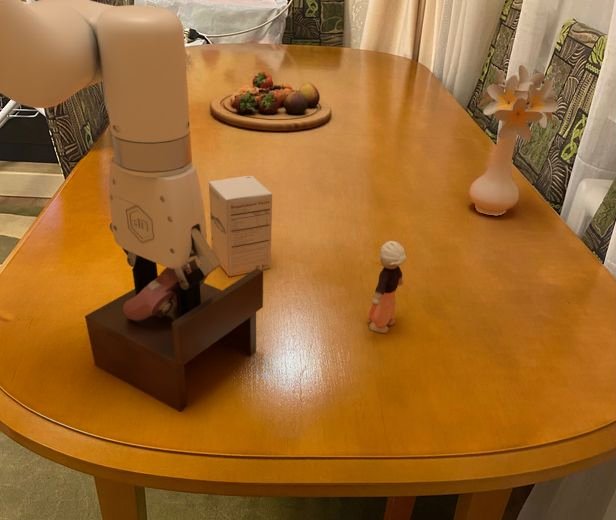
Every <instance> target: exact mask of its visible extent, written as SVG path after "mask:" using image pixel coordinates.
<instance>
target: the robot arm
mask: <svg viewBox="0 0 616 520" xmlns="http://www.w3.org/2000/svg"><path fill="white" fill-rule="evenodd" d="M185 42H186V41H185V32H184V26H183V23H182V21H181V19H180V17H179V16H178V14H177V13H175V12H174V11H172V10H170V9H168V8H164V7H159V6H155V5H154V6H153V5H144V4H143V5H141V4H128V5H112V4H107V3H103V2H99V1H98V2H97V1H93V0H35V1H33V2H29V3H25V2H24V1H23V0H0V94H1V95H2V96H4V97H6V98H7V99H9V100H11V101H13V102H15V103H16V104H19V105H22V106H23V107H28V108H34V109H47V108H48V109H49V108H53V107H55V106H59V105H60V104H62V103H64V102H66V101H67V100H68V99H70V98H72V97H73V96H74V95H76V94H77V93H78V92H80V91H81V90H83V89H86V88H88V87H91V86H93V85H96V84H98V83H103V87H104V92H105V100H106V105H107V106H106V108H107V113H108V121H109V128H110V137H111V143H112V148H113V157H112V158H111V159H110V163H109V164H110V165H109V176H108V177H109V179H108V182H109V183H108V184H109V185H108V186H109V187H108V189H109V191H108V192H109V210H110V218H111V219H110V220H111V223H110V224H109V229H110V231H111V232H112V233H113V238H114V241H115V244H116V245H118V246H119V247H120V248H121V249H122V250H123V252H124V253H125V254H126V256H127V257H126V262H127V264H128V266H129V267H131V270H132V278H133V286H134V289H135V293H136V295H138V294H139V293H140V292H141V291H142V290H143V289H144V288H145V287H146V286H147V285H148V284H149V283H151V282H152V281H153V280H155V279H156V278H157V277H158V276H159V274H158V265H161V266H163V267H165V268H170V269H174V271H175V273H176V276H177V279H178V281H179V284H180V286H178V287H177V288H176V296H177V307H178V315H179V317H181V316H183V315H185V314H186V313H188V312H189V311H191V310H192V309H194V308H196V307H197V306H199V305H200V304H201V295H200V281H202V280H203V279H204V278H205V277H207V278H208V276H209V275H211V274H212V273H214V271H216V270H218V269H219V268H220V267H221V265H220V262H219V260H218V258H217V257H216V255H215V254H214V252H213V251H212V247H211V246H210V245H209V244H208V234H207V222H206V221H207V220H206V215H205V214H206V213H205V206H204V198H203V194H202V193H203V192H202V189H201V184H200V179H199V176H198V172H197V168H196V166H194V165H193V153H192V151H193V150H192V136H191V123H190V107H189V92H188V91H189V90H188V89H189V88H188V77H187V74H188V73H187V59H186V45H185V44H186V43H185ZM188 263H189V266H190V268H191V271H192V272H191V273H190V274H189V275H187V272H186V269H185V267H184V265H186V264H188ZM157 264H158V265H157Z"/></svg>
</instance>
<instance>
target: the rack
mask: <svg viewBox="0 0 616 520" xmlns="http://www.w3.org/2000/svg"><path fill="white" fill-rule="evenodd" d="M200 295H201V304H200V305H199V306H197V307H196V308H194V309H192V310H191V311H189V312H188V313H186V314H185V315H183V316H181V317H179V315H178V307H177V304H176V303H175V302H174V301H173V300H172V302H173V307H172V309H171V310H170V311H169V312H168V313H167V314H166V315H165V316H164V317H161V318H160V317H159V316H157V315H152V316H150V317H148V318H146V319H144V320H140V321H134V320H130V319H129V318H127V317H126V316H125V314H124V311H123V306H124V304H125V302H127V301H128V300H130V299H132V298H133V297H135V296H136V293H135V288H133V289H131V290H130V291H128V292H126V293H123V294H122V295H121V296H119V297H117V298H115V299H113V300H111V301H109V302H108V303H106V304H104V305H103V306H101V307H99V308H96V309H95V310H93V311H91V312H90V313H88V314H86V315H85V316H84V318H85V324H86V329H87V334H88V339H89V343H90V348H91V353H92V357H93V363H94V366H96V367H98V368H100V369H102V370H103V371H105V372H106V373H108V374H110V375H113V376H114V377H116V378H118V379H119V380H122V381H123V382H125V383H127V384H129V385H131V386H132V387H134V388H136V389H138V390H140V391H142V392H144V393H145V394H148V396H150V397H153V398H154V399H156V400H158V401H160V402H161V403H163V404H165V405H167V406H169V407H171V408H173V409H175V410H176V411H177V412H182V411H183V410H185V409H186V408H188V398H187V385H186V377H185V375H186V374H185V366H184V365H186V364H187V363H188V362H190V361H191V360H193V359H194V358H196V357H197V356H198V355H200V354H202V352H204V351H205V350H206V349H208V348H209V347H211V346H212V345H213V344H215V343H216V342H219V343H222V344H224V345H226V346H227V347H230V348H232V349H234V350H236V351H238V352H241V353H243V354H245V355H247V356H249V357H252V356H253V355H254V354H256V352H257V312H258V311H260V310H261V309H262V308H264V271H263V270H259V269H255V270H254V271H252V272H250V273H246V274H245V275H244V276H243V277H241V278H240V279H238V280H236V281H235V282H233V283H231V284H230V285H229V286H226V287H225V288H223V289H220V288H218V287H215V286H213V285H210V284H208V283H205V282H203V283H202V284H201V285H200Z"/></svg>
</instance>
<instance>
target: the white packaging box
mask: <svg viewBox="0 0 616 520" xmlns="http://www.w3.org/2000/svg"><path fill="white" fill-rule="evenodd" d="M208 196H209V217H210V219H209V220H210V240H211V241H210V243H211V249H212V251H213V252H214V254H215V255H216V257H217V258H218V260H219V262H220V267H221V268H222V269H223V271H224V272H225V273H226V275H227V276H228V277H235V276H240V275H244V274H245V275H246V274H249V273H250V272H252V271H254V270H255V269H259V270H262V271H263V270H269V269H271V267H272V227H273V225H272V221H273V192H271V190H269V189H268V188H267V187H266V186H264V185H263V183H261V182H260V181H259V180H258V179H256V178H255V177H254V176H253V175H243V176H236V177H229V178H222V179H215V180H209V181H208Z"/></svg>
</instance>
